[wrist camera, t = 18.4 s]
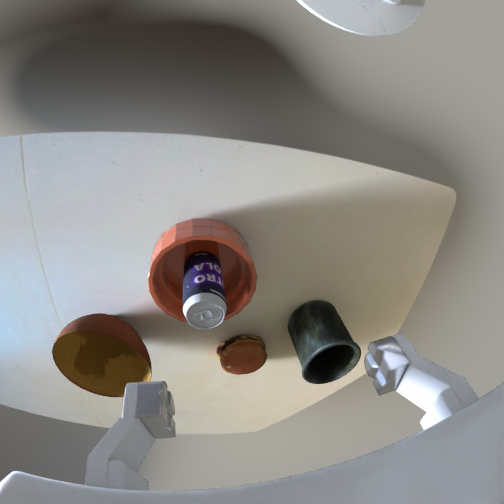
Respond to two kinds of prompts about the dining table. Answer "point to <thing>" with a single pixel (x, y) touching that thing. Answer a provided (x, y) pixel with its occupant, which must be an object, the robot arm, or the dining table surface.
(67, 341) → the bowl
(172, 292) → the terracotta bowl
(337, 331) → the mug
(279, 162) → the dining table surface
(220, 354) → the burger
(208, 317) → the beverage can
